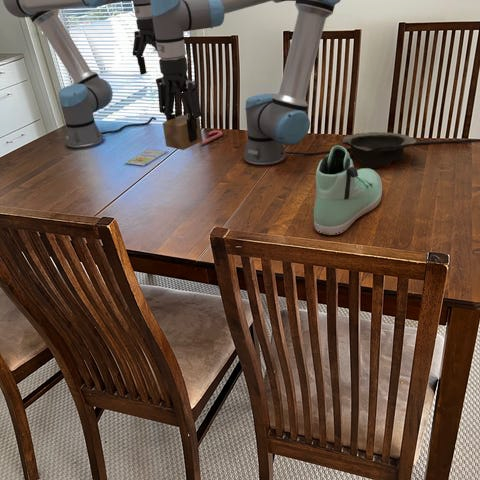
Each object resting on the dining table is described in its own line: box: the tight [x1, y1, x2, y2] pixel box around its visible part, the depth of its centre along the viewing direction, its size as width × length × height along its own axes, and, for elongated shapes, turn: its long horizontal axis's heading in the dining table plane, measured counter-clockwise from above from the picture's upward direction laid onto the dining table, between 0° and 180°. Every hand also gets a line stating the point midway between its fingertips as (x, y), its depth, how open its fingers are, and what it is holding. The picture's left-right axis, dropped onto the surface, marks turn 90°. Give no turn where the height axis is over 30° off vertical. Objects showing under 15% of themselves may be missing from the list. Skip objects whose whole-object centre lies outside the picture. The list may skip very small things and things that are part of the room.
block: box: [162, 114, 203, 151], centre depth 141 cm, size 7×8×7 cm
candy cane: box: [200, 130, 224, 146], centre depth 198 cm, size 6×15×2 cm, turn 145°
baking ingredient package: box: [124, 149, 166, 166], centre depth 185 cm, size 9×1×15 cm
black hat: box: [341, 131, 418, 169], centre depth 166 cm, size 25×25×9 cm
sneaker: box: [313, 145, 383, 236], centre depth 133 cm, size 14×35×20 cm, turn 152°
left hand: (154, 75), depth 193 cm, fingers open, 13 cm apart
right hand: (183, 138), depth 142 cm, fingers closed on block, 7 cm apart
